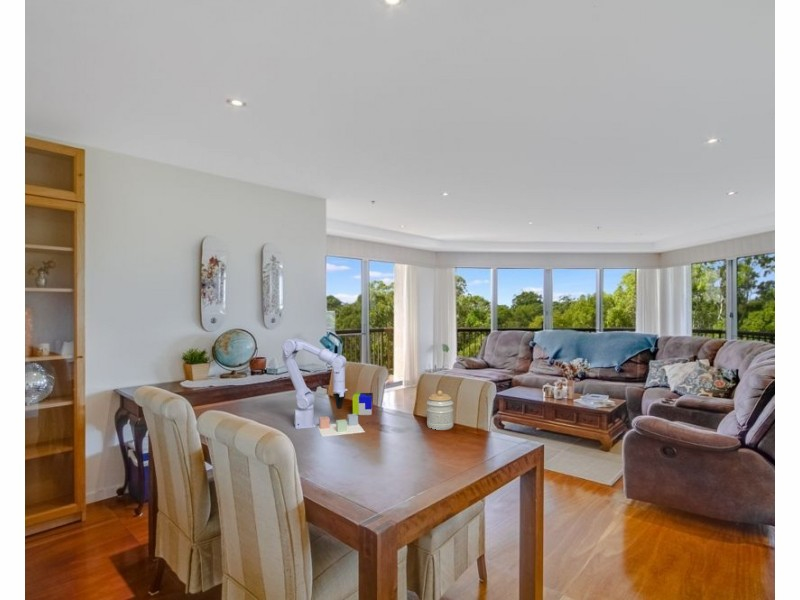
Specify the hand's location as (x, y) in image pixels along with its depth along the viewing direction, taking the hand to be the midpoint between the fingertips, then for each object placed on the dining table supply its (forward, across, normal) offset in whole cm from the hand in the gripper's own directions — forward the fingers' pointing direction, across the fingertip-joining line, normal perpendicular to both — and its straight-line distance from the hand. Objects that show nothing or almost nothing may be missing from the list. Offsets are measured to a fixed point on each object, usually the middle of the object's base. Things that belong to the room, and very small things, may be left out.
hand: (339, 408), depth 208 cm
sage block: (+9, -6, 0) cm, 11 cm away
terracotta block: (+9, +2, +7) cm, 12 cm away
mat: (+9, -3, 0) cm, 10 cm away
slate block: (+9, +2, -7) cm, 12 cm away
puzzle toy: (+10, +22, -17) cm, 30 cm away
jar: (+10, -15, -47) cm, 50 cm away
